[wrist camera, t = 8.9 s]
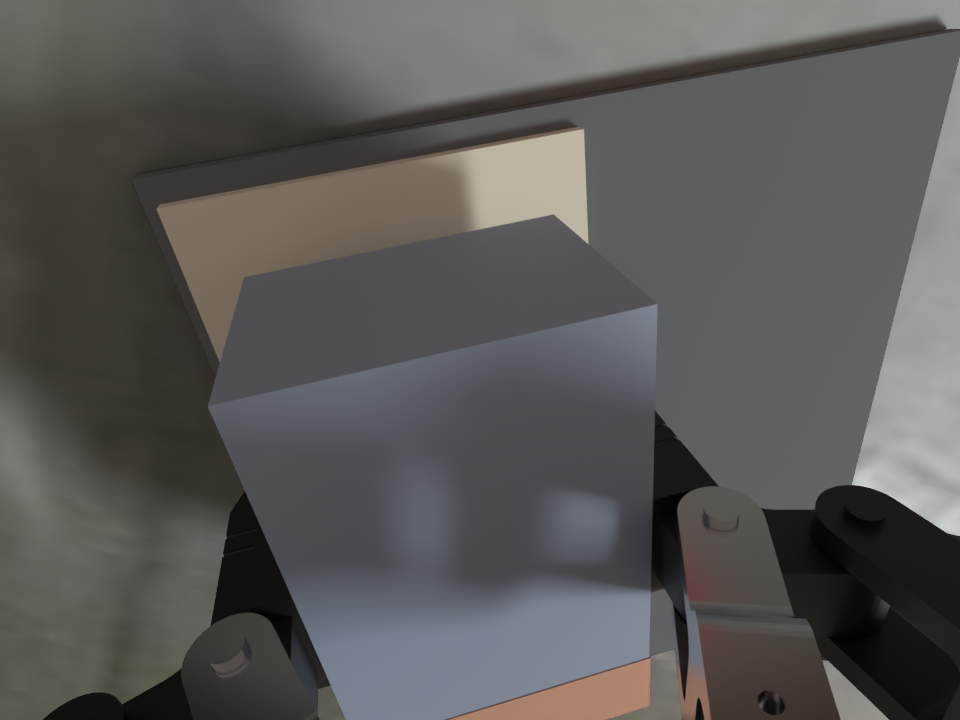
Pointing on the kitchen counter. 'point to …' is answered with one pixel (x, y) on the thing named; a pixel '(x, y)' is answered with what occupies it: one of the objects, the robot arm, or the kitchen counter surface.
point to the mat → (642, 234)
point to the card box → (455, 470)
